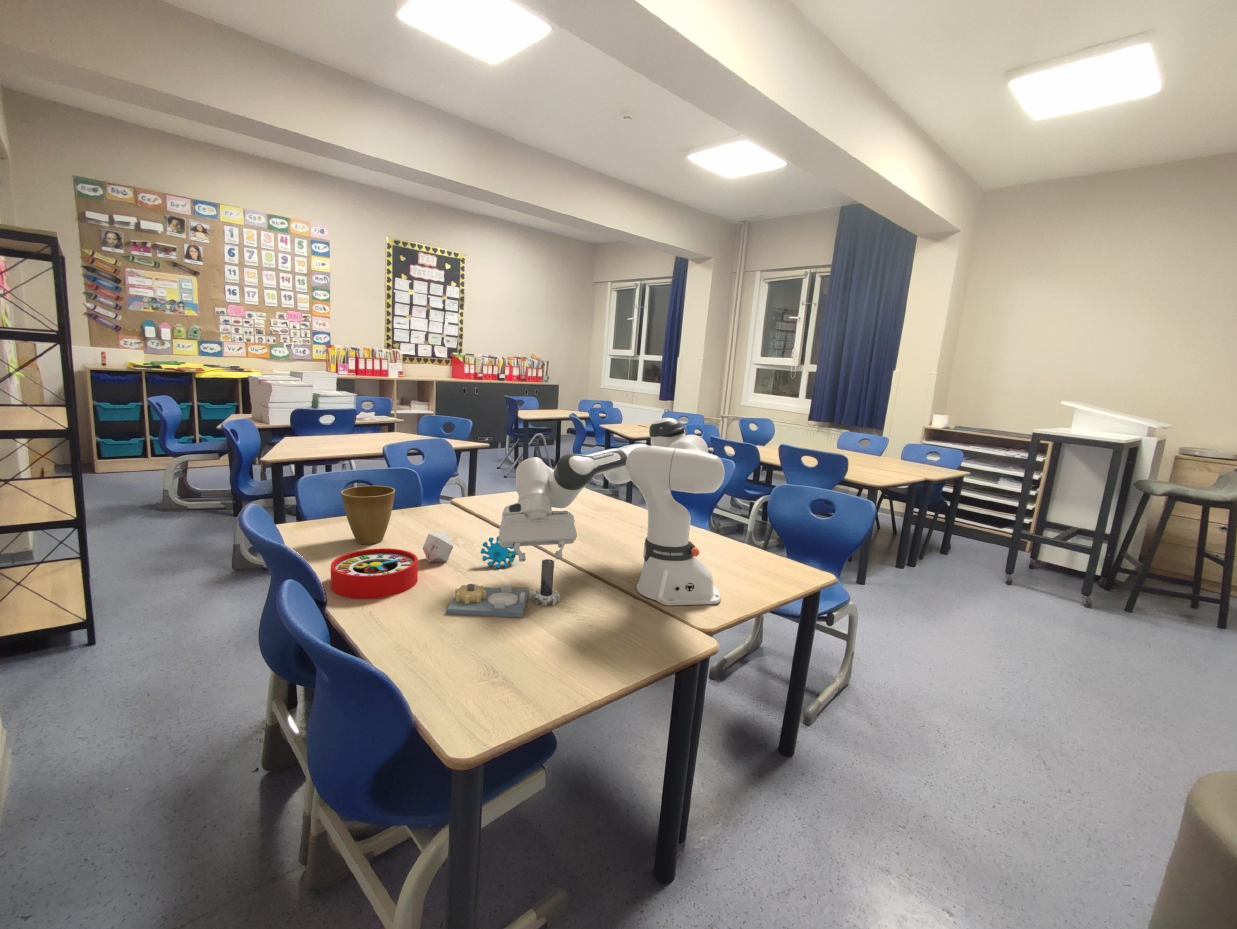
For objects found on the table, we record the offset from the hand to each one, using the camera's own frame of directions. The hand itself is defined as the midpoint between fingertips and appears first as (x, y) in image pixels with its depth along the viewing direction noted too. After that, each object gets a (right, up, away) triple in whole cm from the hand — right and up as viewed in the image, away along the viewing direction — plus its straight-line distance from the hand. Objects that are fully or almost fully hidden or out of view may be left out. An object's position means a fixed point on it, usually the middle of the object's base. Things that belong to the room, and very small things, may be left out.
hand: (541, 559), depth 135 cm
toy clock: (-42, -6, -1) cm, 42 cm away
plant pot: (-58, 0, +29) cm, 65 cm away
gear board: (-11, -9, -8) cm, 16 cm away
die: (-32, -4, +18) cm, 37 cm away
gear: (+2, -10, -4) cm, 10 cm away
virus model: (-15, -5, +18) cm, 24 cm away
